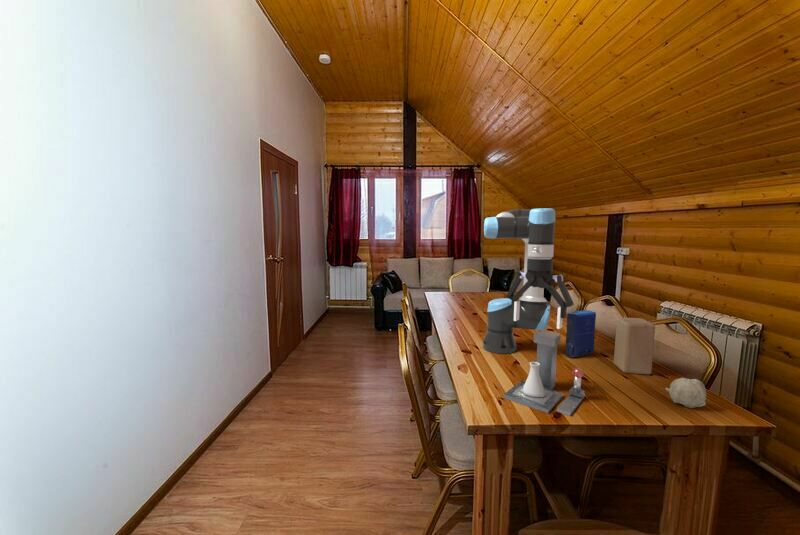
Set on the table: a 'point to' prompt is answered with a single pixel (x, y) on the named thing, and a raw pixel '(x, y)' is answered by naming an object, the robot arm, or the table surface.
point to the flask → (534, 382)
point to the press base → (545, 379)
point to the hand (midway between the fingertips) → (536, 324)
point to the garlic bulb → (688, 392)
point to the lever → (577, 383)
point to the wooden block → (634, 345)
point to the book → (580, 333)
